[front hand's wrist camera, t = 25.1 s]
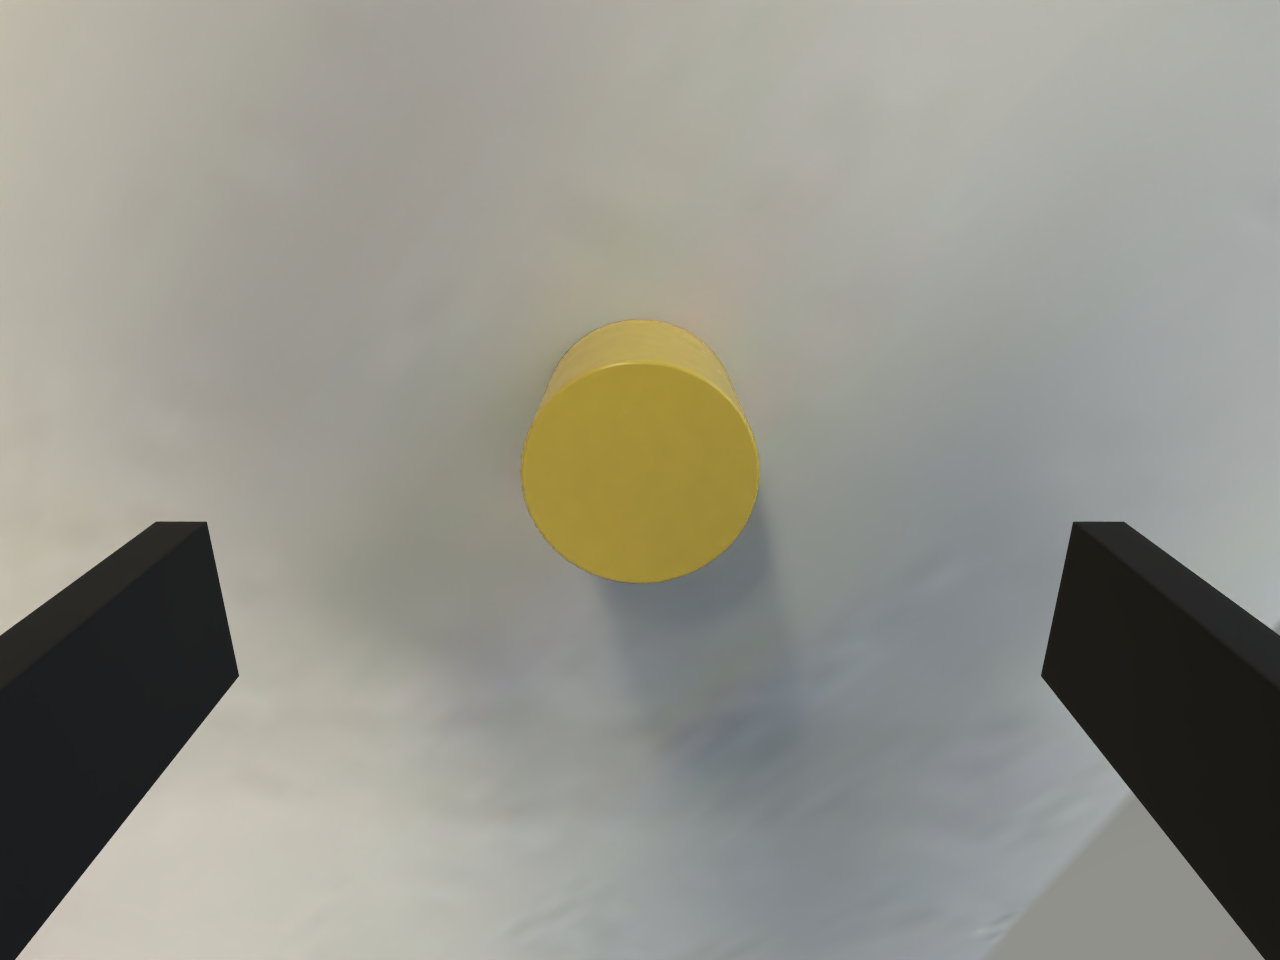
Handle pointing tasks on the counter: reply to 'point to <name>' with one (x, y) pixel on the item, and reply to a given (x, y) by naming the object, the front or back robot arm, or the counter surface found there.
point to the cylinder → (639, 455)
